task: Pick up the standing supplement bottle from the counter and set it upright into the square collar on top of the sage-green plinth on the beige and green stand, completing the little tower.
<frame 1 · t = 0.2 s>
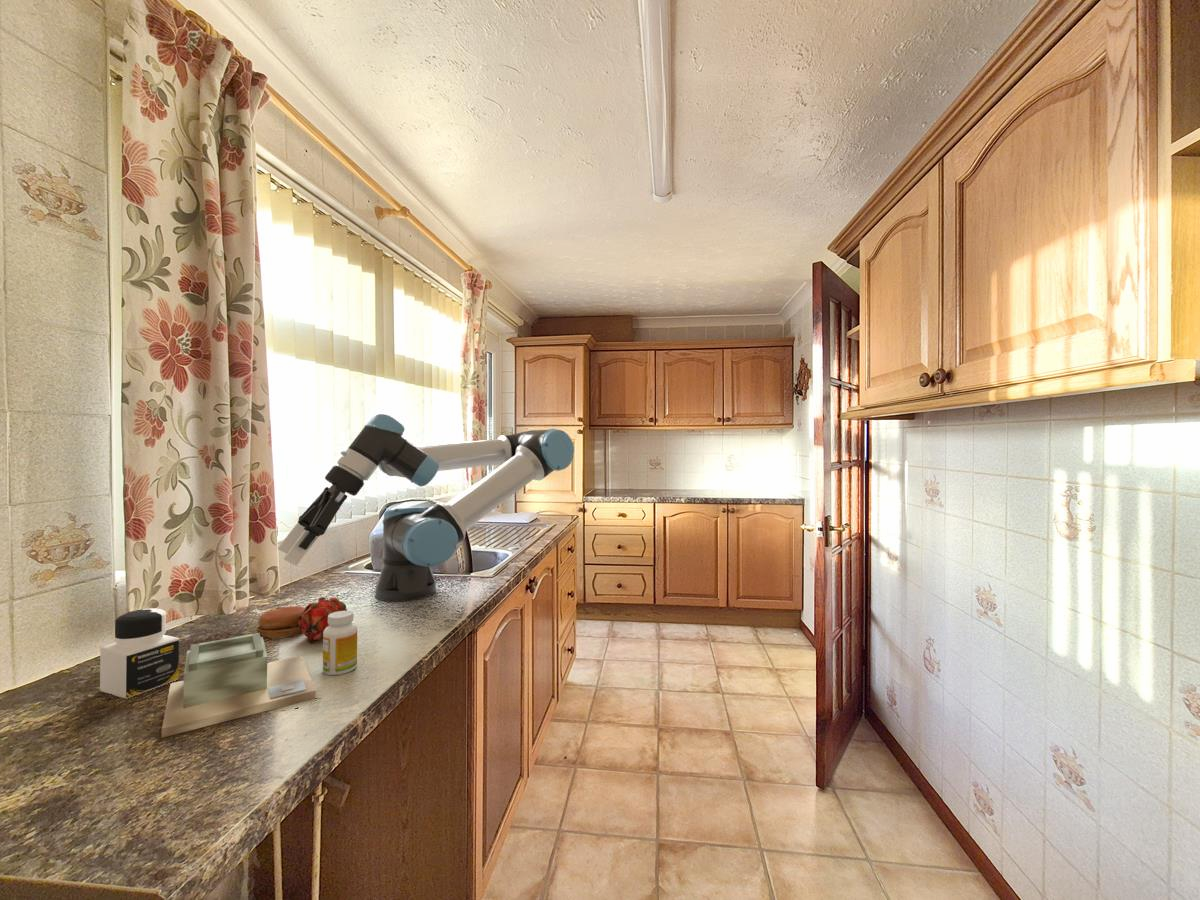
hand: (286, 556, 104), 16 cm above the table, tool tilted 35°, fingers open, 13 cm apart
medicine bottle: (140, 687, 80), on the table
burger: (283, 632, 105), on the table
supplement bottle: (340, 670, 87), on the table
beige and green stand: (242, 694, 78), on the table
dragon fruit: (322, 638, 101), on the table
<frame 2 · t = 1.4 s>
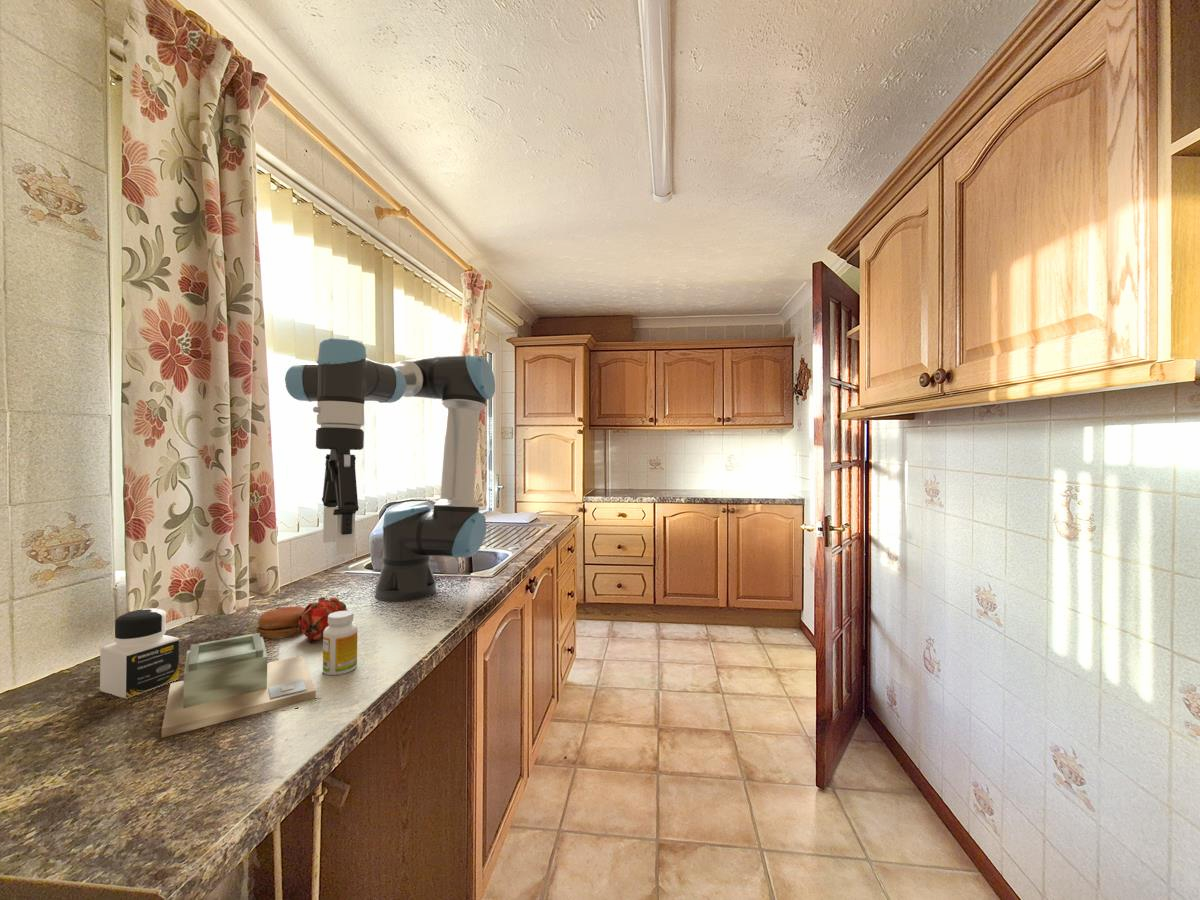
hand: (337, 547, 87), 21 cm above the table, tool pointing down, fingers open, 13 cm apart
nothing on the table moved.
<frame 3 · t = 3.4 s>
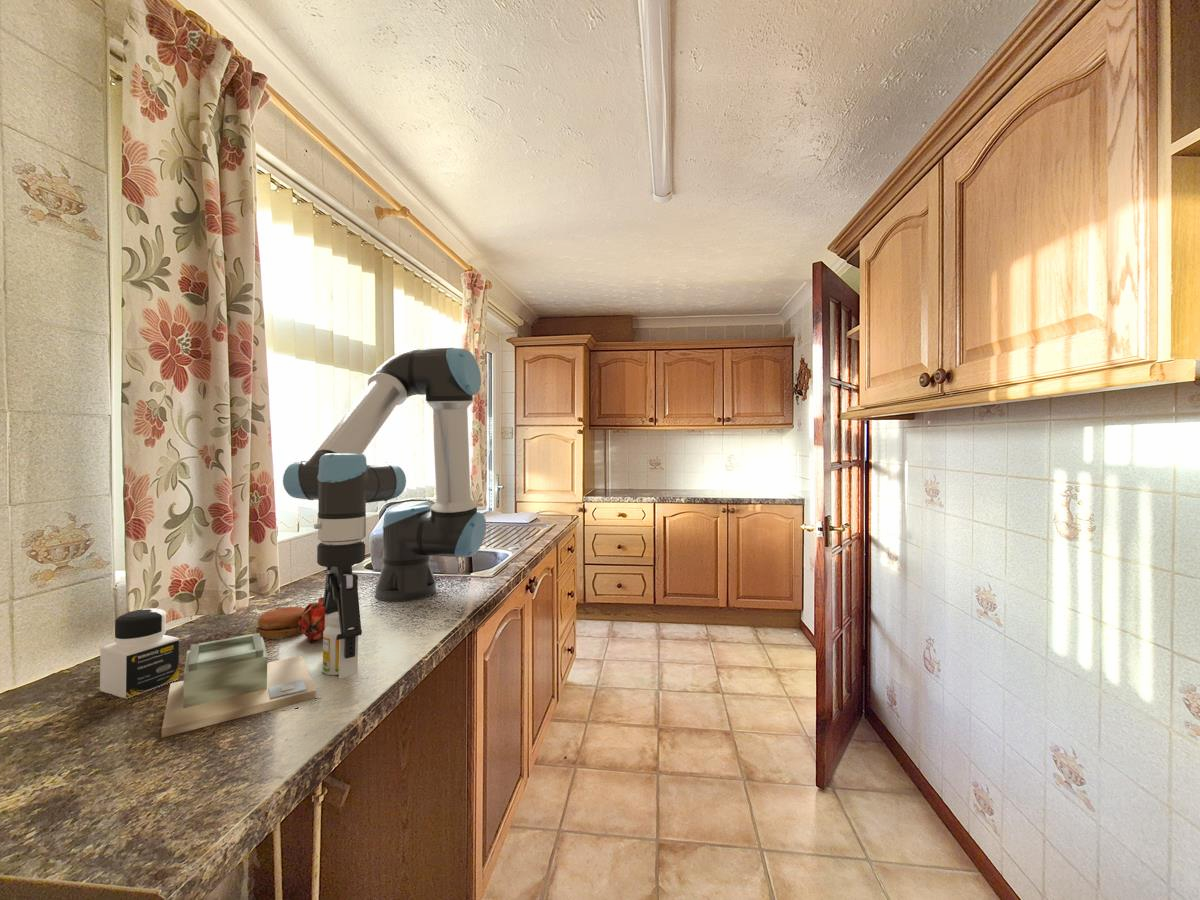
hand: (340, 661, 87), 1 cm above the table, tool pointing down, fingers open, 13 cm apart
nothing on the table moved.
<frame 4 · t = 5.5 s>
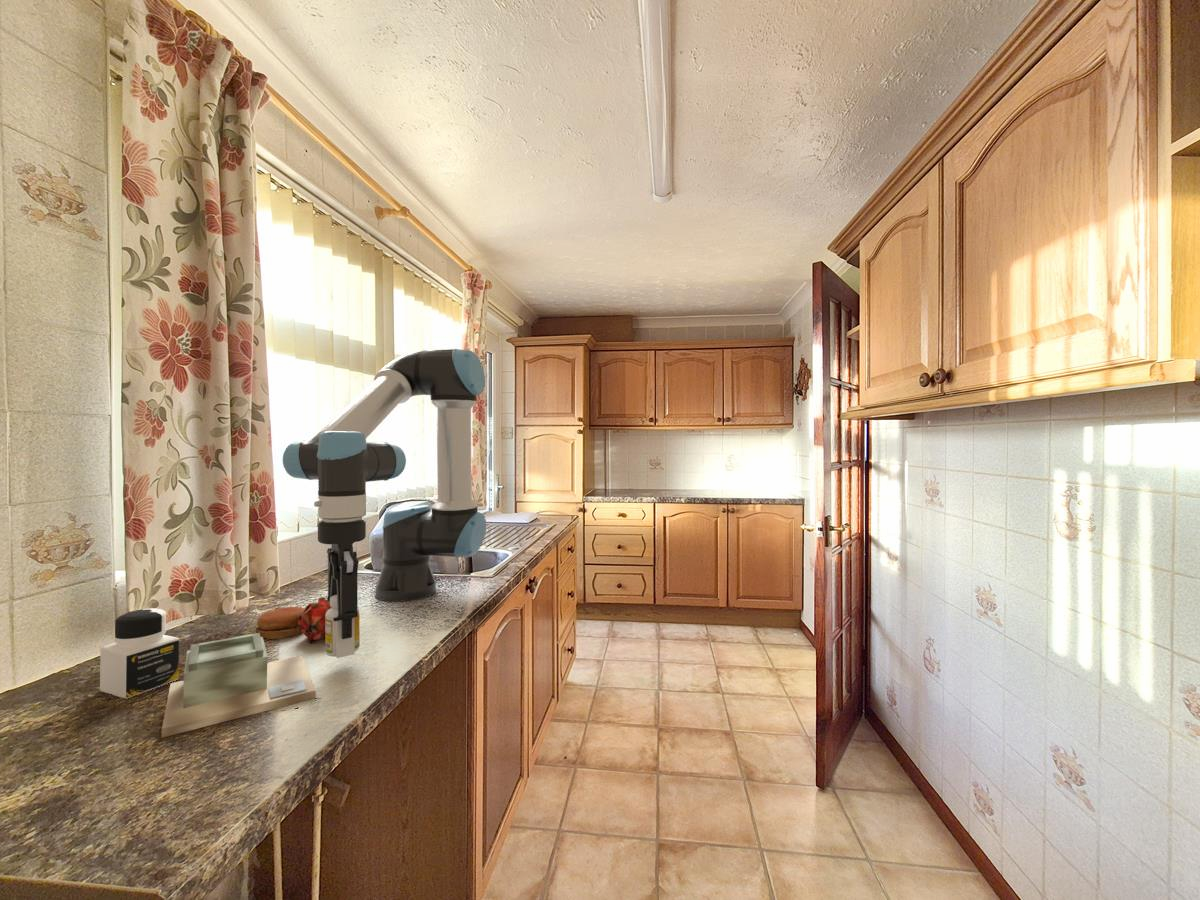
hand: (341, 649, 88), 3 cm above the table, tool pointing down, fingers closed on supplement bottle, 5 cm apart
supplement bottle: (342, 652, 88), point 3 cm above the table, touching gripper
everything else where it was.
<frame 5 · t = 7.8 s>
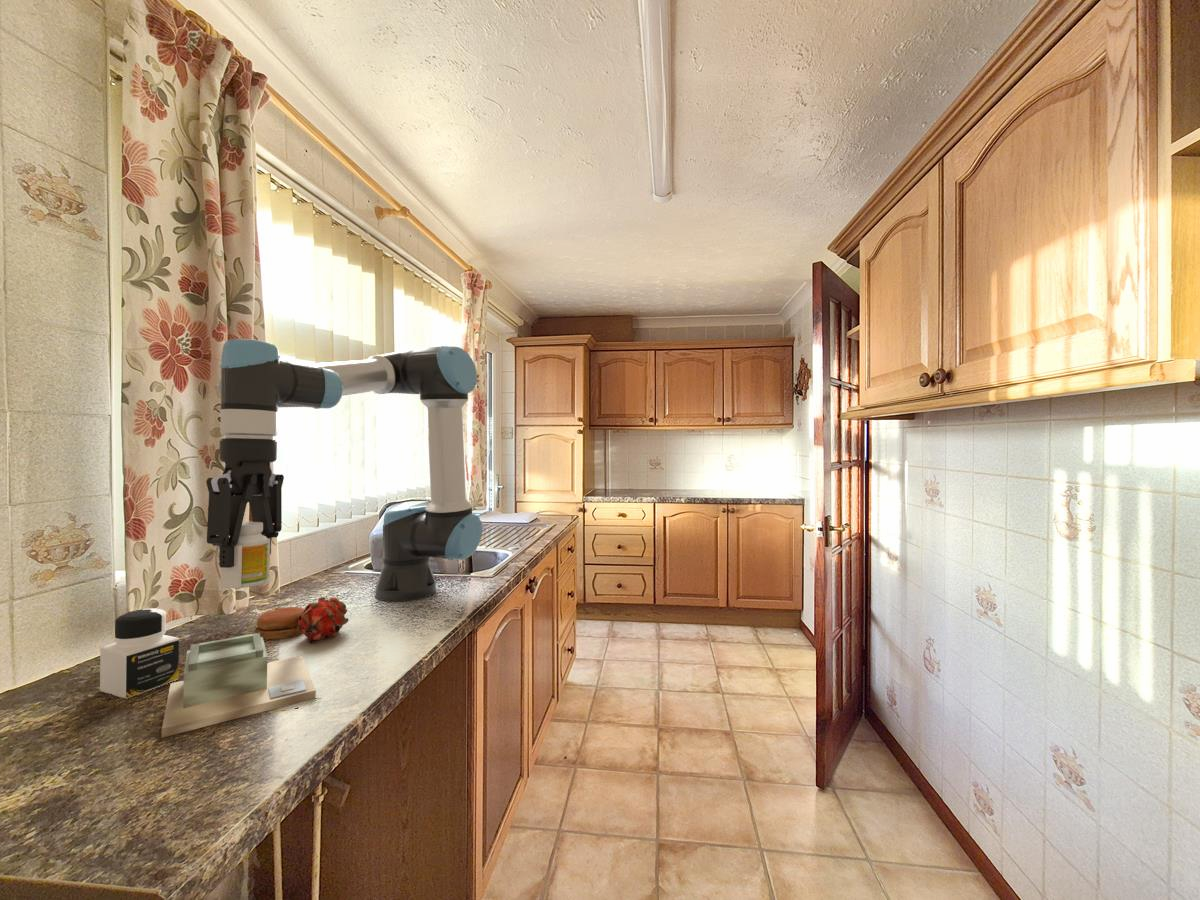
hand: (246, 582, 79), 17 cm above the table, tool pointing down, fingers closed on supplement bottle, 5 cm apart
supplement bottle: (247, 585, 79), point 17 cm above the table, touching gripper
everything else where it was.
when the fingers open (8 cm above the table, at t = 10.3 s): supplement bottle drops 2 cm, resting on beige and green stand.
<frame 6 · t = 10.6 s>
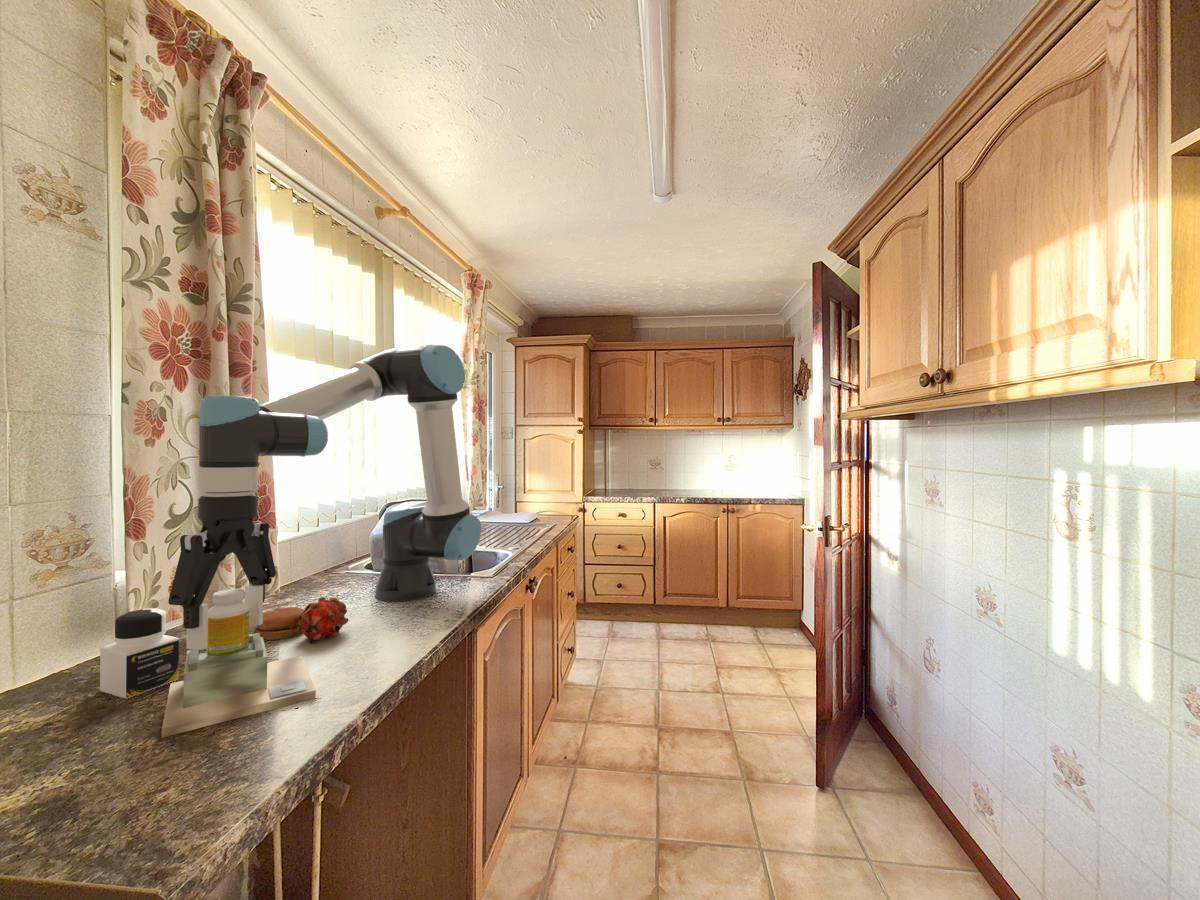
hand: (227, 635, 78), 9 cm above the table, tool pointing down, fingers open, 9 cm apart
supplement bottle: (227, 654, 78), point 6 cm above the table, touching beige and green stand
everything else where it was.
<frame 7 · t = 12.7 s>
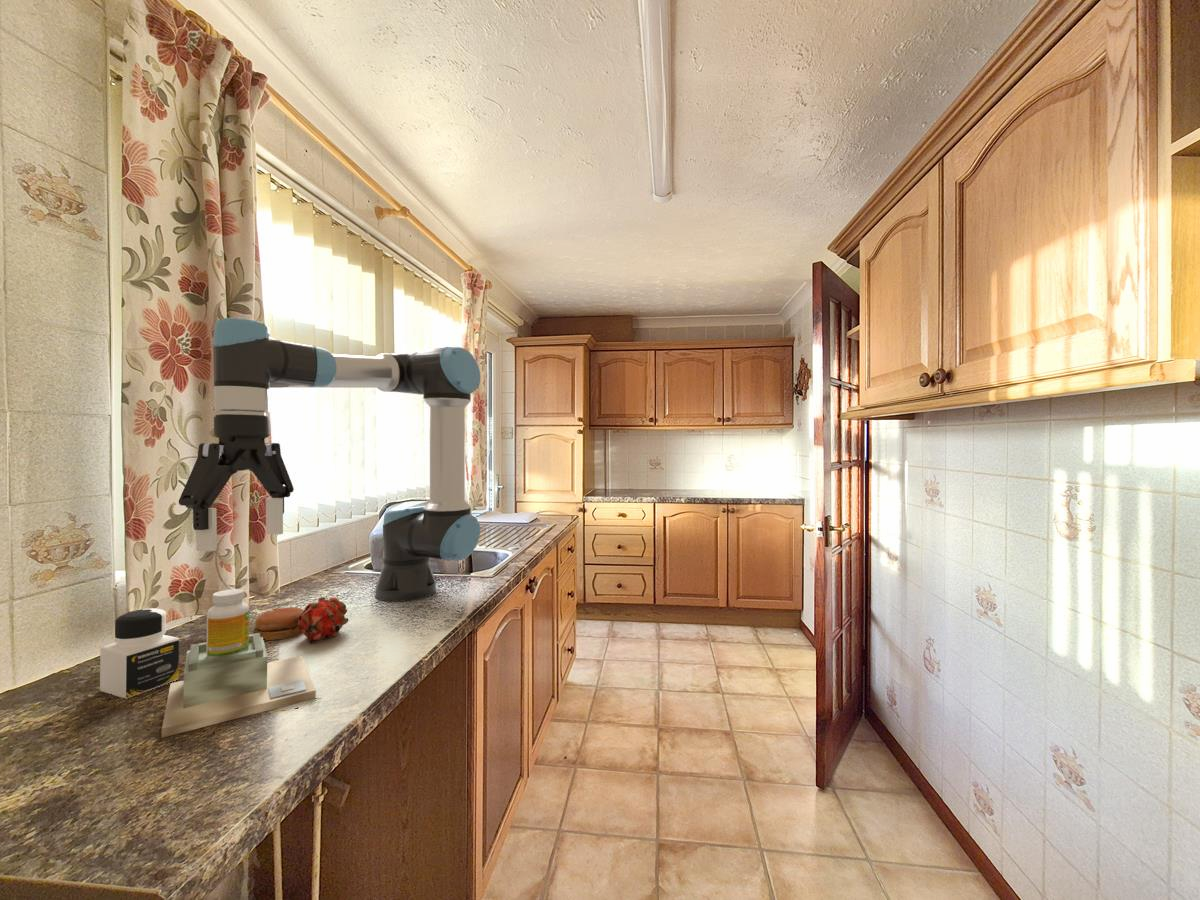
hand: (243, 541, 83), 23 cm above the table, tool pointing down, fingers open, 13 cm apart
nothing on the table moved.
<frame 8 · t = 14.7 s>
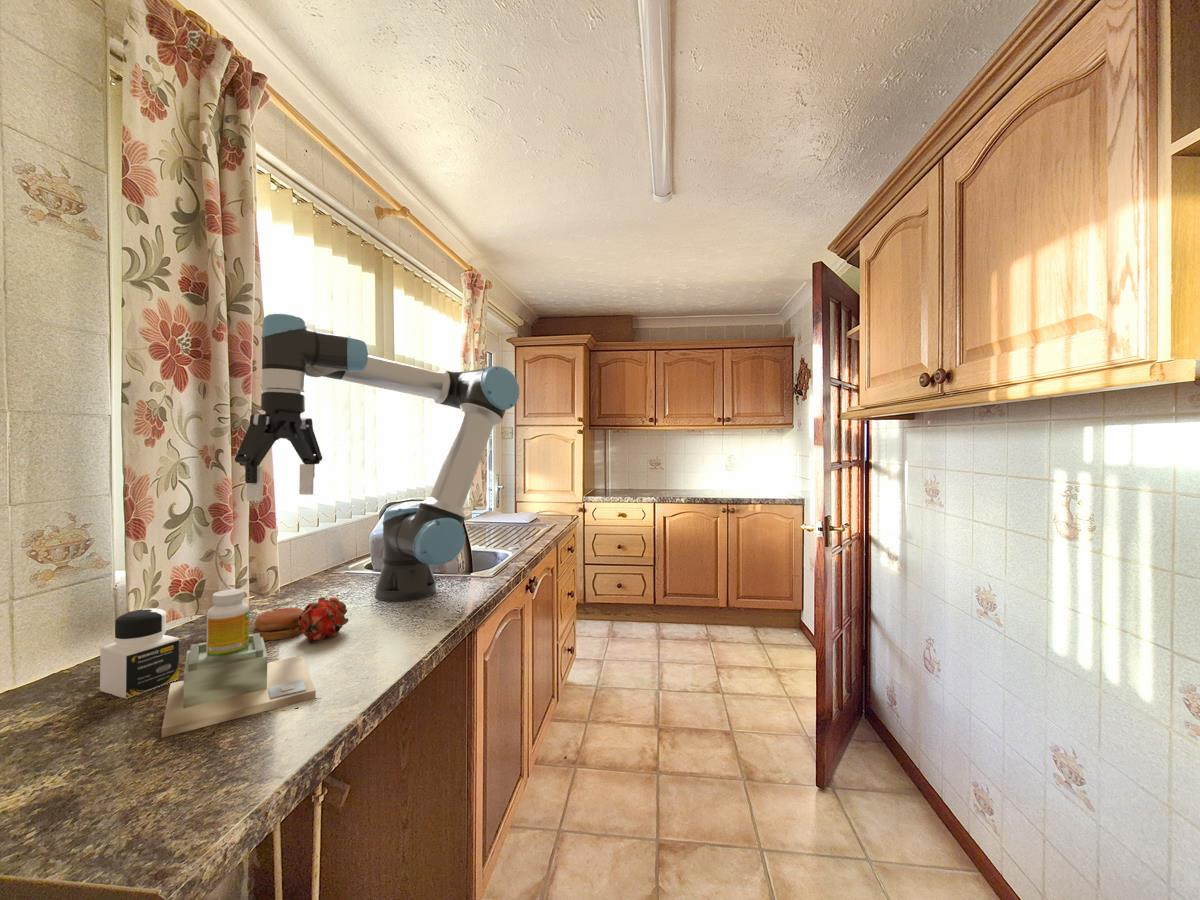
hand: (282, 497, 100), 29 cm above the table, tool pointing down, fingers open, 13 cm apart
at the end: supplement bottle 0.2 cm from the target spot on the beige and green stand, point 6.0 cm above the beige and green stand's base; supplement bottle tilted 0°; the gripper is holding nothing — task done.
